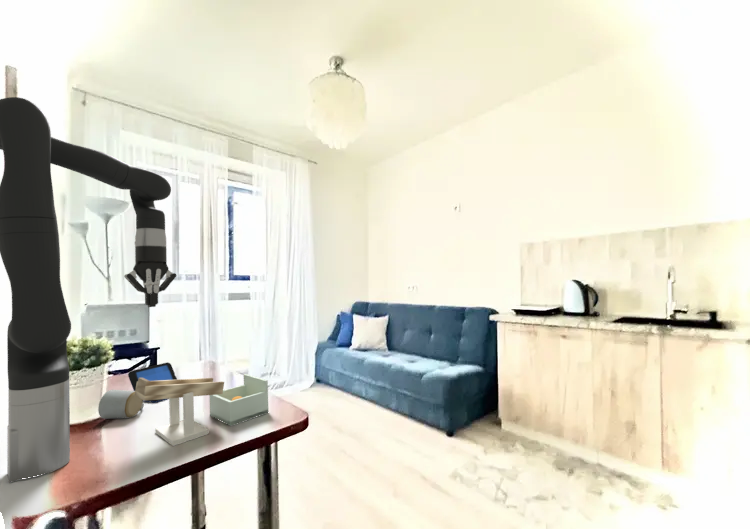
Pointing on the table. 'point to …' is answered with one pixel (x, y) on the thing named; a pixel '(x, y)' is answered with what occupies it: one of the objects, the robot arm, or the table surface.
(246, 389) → the bin
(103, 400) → the grey canister
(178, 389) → the chute lever
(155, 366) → the tablet display
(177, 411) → the chute stand
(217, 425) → the table surface
